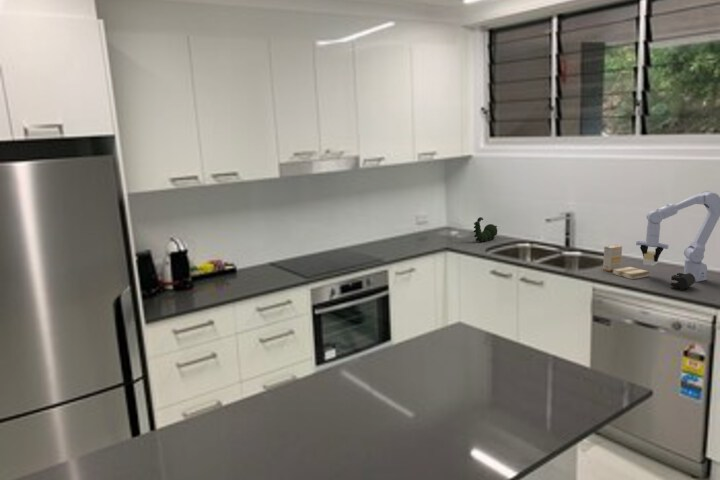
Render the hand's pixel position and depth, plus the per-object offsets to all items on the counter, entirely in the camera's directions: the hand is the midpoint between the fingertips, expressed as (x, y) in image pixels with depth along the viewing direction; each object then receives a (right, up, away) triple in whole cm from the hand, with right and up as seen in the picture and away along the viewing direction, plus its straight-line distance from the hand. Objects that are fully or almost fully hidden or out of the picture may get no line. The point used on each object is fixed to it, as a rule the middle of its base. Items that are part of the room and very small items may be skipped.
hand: (650, 260), depth 273 cm
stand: (-7, -8, +6) cm, 12 cm away
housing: (0, -2, 0) cm, 2 cm away
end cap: (+5, -13, -19) cm, 23 cm away
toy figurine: (-60, +10, +104) cm, 120 cm away
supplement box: (-11, -6, +18) cm, 22 cm away
